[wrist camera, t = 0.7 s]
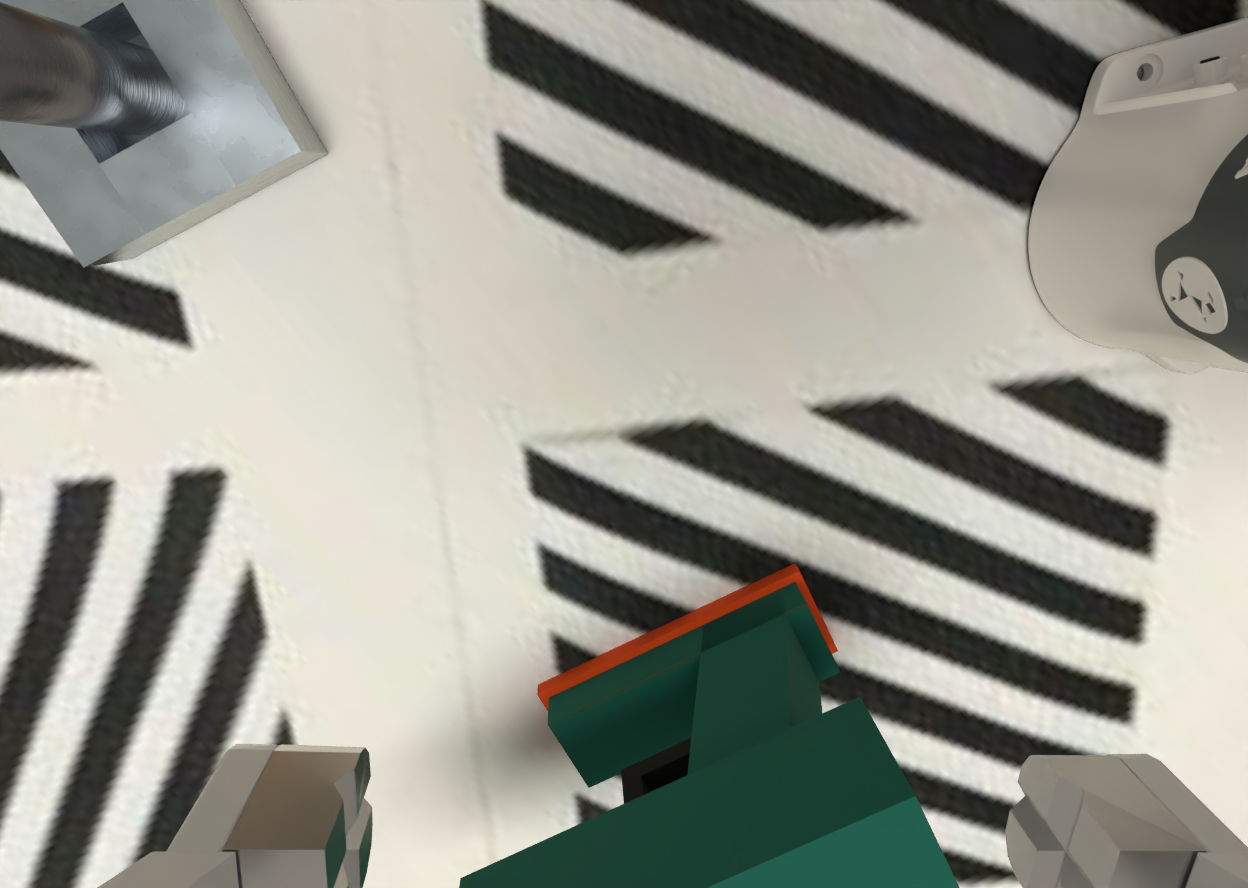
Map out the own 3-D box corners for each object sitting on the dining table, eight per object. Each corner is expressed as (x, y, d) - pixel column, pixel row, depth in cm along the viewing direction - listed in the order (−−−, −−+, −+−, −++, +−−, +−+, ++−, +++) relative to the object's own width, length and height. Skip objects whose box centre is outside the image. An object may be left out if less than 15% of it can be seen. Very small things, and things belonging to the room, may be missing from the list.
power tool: (414, 842, 56) (334, 1183, 37) (358, 769, 54) (244, 1091, 35) (835, 648, 53) (983, 907, 34) (795, 563, 51) (928, 790, 32)
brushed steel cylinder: (163, 34, 39) (-93, -57, 24) (212, 114, 41) (-2, 75, 25) (94, 73, 40) (-202, 7, 24) (144, 151, 41) (-107, 134, 26)
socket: (188, -89, 38) (140, -123, 34) (328, 154, 42) (300, 150, 38) (-23, 32, 39) (-95, 14, 35) (131, 258, 43) (83, 267, 39)
